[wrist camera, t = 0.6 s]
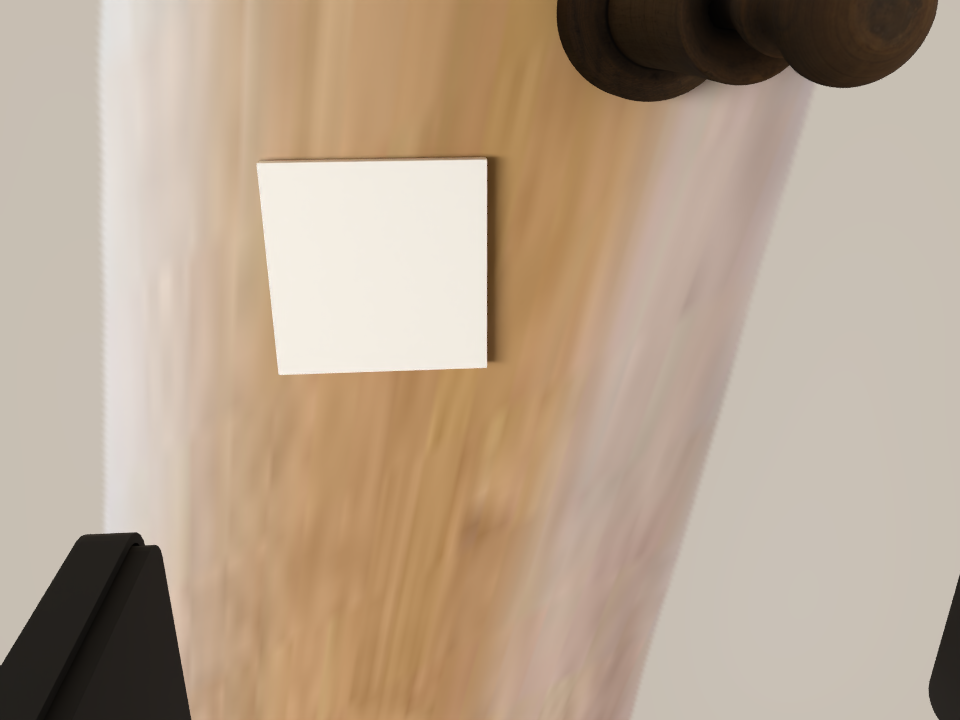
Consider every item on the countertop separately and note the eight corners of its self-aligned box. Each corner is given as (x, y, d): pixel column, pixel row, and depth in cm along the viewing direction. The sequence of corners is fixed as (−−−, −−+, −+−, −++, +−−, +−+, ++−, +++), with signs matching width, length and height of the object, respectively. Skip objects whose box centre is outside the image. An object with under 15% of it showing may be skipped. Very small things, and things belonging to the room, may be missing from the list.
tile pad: (259, 160, 33) (256, 163, 33) (485, 156, 34) (486, 159, 33) (280, 369, 37) (278, 374, 36) (485, 362, 37) (487, 367, 37)
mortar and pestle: (696, -120, 31) (1036, -270, 14) (746, 52, 33) (1087, 97, 17) (529, -38, 31) (668, -89, 15) (591, 125, 34) (770, 238, 17)
